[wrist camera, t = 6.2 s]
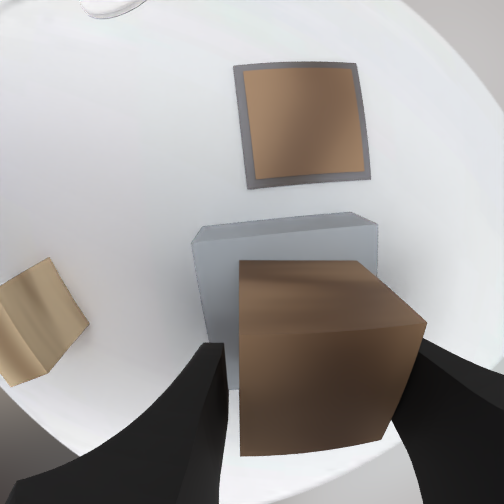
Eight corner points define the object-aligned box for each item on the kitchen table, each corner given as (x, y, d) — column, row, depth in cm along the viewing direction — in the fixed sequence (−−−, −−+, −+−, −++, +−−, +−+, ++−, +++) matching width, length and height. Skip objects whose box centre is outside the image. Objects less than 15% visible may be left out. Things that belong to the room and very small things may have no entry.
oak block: (49, 343, 15) (10, 387, 10) (13, 286, 14) (-34, 319, 9) (90, 323, 15) (48, 373, 10) (49, 256, 14) (-7, 290, 9)
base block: (223, 349, 16) (220, 390, 12) (203, 224, 14) (191, 243, 10) (346, 333, 16) (367, 370, 12) (347, 210, 14) (377, 224, 10)
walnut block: (238, 361, 12) (240, 456, 7) (238, 260, 11) (239, 334, 6) (340, 356, 12) (381, 439, 7) (357, 260, 11) (427, 322, 6)
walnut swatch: (247, 188, 13) (247, 189, 13) (233, 67, 11) (233, 64, 11) (369, 179, 13) (372, 179, 12) (354, 64, 11) (357, 62, 11)
